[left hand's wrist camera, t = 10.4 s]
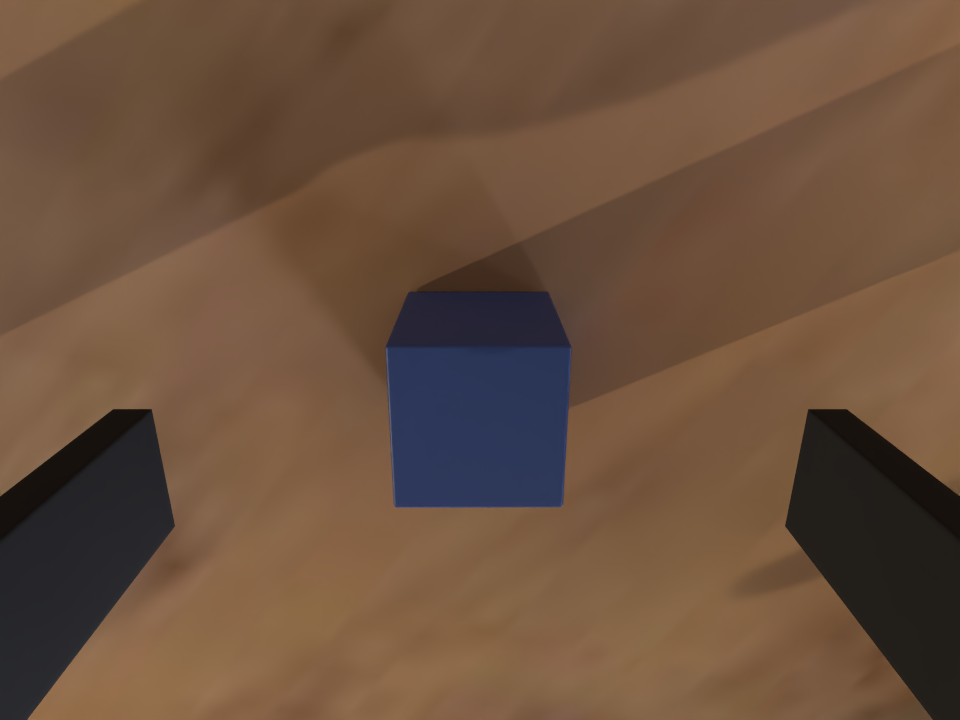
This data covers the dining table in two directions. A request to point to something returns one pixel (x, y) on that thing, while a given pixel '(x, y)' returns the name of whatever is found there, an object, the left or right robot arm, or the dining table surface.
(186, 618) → the dining table surface
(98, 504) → the left robot arm
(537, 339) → the cube
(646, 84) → the dining table surface
